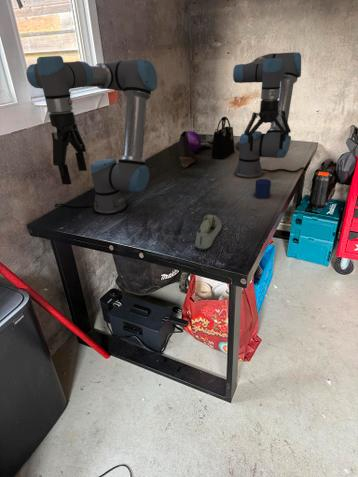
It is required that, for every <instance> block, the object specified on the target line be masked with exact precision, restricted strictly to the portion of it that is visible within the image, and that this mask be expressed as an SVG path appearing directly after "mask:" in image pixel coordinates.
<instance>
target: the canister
mask: <svg viewBox="0 0 358 477" xmlns="http://www.w3.org/2000/svg"><path fill="white" fill-rule="evenodd" d="M271 185H272V181H271V180H270V179H267V178H259V179H256V180H255V188H254V197H255V198H257V199H269V197H270V196H271Z"/></svg>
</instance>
